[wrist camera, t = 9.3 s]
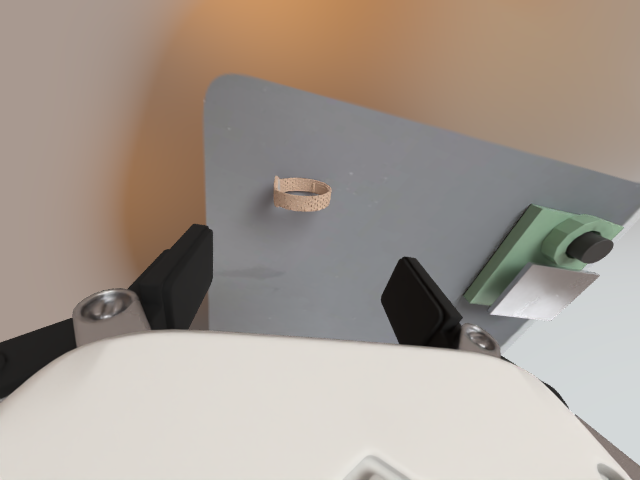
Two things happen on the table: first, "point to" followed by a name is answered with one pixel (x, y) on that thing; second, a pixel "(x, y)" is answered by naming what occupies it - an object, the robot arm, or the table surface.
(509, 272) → the scale
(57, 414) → the robot arm
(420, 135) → the table surface
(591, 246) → the button
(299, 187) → the perforated watch strap
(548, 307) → the brushed metal plate
